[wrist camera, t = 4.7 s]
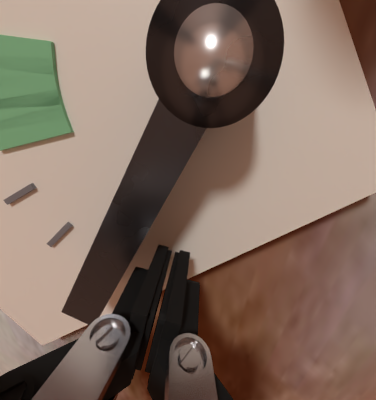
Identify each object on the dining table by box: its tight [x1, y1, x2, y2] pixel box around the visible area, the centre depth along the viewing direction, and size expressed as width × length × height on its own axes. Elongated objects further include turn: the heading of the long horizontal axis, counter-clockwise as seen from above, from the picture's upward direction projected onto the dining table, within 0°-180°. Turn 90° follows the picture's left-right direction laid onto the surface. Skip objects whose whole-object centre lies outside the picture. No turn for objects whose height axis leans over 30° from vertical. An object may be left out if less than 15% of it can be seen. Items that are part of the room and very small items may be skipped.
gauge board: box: [0, 0, 376, 346], centre depth 11 cm, size 16×24×2 cm, turn 123°
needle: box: [61, 0, 284, 325], centre depth 8 cm, size 13×4×3 cm, turn 150°
